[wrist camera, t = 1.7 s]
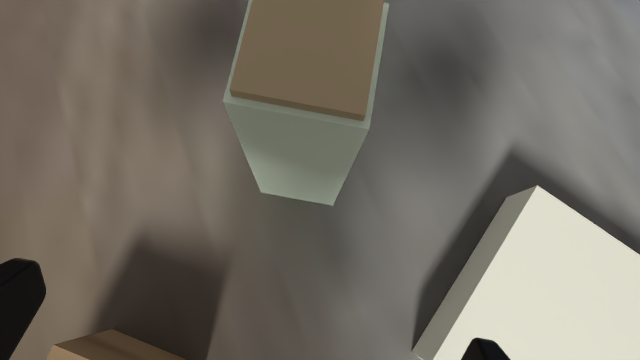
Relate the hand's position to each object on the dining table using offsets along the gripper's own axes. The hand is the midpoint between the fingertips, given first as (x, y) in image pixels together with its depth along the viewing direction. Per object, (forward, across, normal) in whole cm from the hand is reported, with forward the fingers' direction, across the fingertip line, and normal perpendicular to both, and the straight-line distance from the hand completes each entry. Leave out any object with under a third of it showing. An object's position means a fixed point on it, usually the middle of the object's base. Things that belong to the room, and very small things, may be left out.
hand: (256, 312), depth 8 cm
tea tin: (+14, 0, +4) cm, 15 cm away
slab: (+9, -14, +9) cm, 19 cm away
